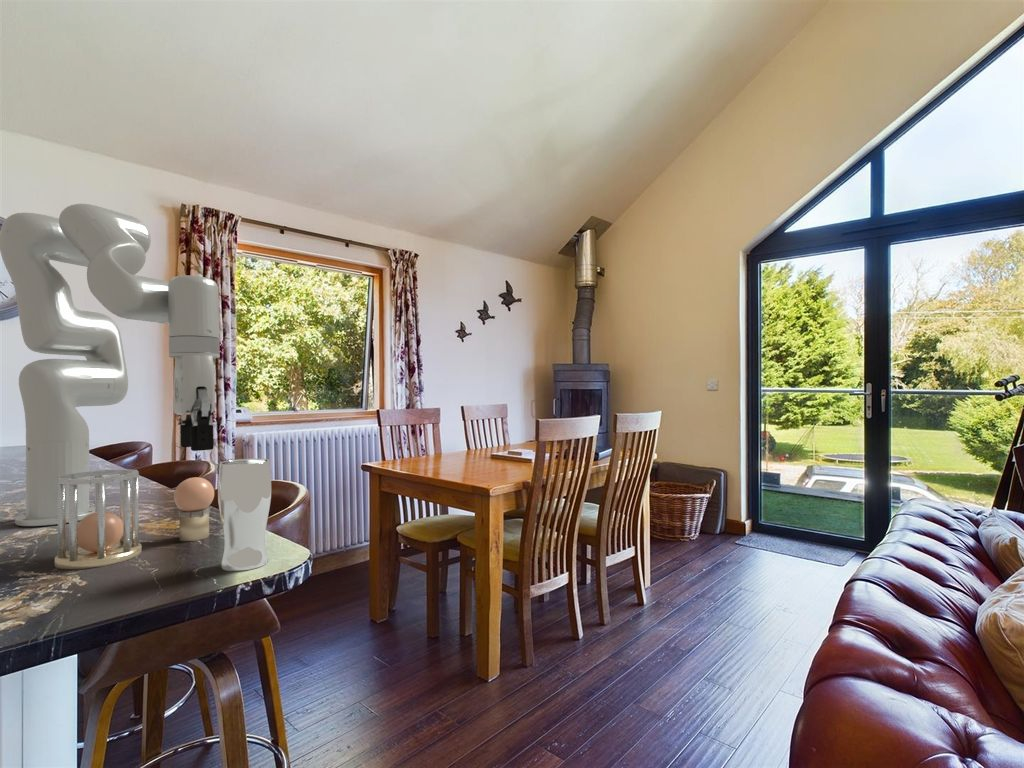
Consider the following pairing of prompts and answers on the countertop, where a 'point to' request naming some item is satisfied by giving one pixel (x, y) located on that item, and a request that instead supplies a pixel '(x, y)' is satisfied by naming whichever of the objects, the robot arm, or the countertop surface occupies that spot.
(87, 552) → the cage tube
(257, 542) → the beer glass
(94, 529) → the ball
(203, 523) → the stand
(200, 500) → the terracotta ball
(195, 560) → the countertop surface
